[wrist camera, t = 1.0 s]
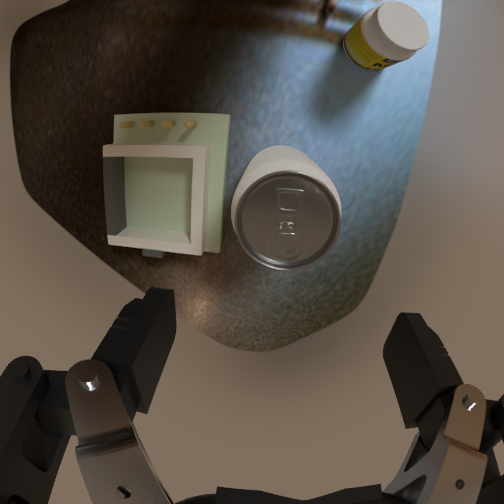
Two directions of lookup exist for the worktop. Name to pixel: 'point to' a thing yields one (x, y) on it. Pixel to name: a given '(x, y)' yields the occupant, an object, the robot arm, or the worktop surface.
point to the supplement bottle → (385, 36)
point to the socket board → (166, 182)
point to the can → (285, 210)
